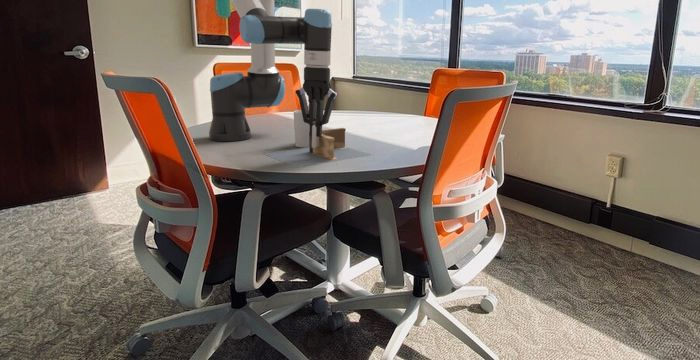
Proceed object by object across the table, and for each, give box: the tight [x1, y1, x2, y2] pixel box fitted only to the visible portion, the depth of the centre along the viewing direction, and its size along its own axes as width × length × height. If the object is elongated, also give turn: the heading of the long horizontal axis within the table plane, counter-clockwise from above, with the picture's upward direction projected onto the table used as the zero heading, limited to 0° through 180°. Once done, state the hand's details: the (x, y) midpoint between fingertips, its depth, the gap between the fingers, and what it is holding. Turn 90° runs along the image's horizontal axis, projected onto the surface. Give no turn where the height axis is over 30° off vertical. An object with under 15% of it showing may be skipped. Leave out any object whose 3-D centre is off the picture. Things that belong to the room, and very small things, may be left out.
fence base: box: [309, 127, 346, 153], centre depth 148 cm, size 2×13×6 cm, turn 126°
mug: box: [293, 109, 310, 148], centre depth 156 cm, size 10×7×12 cm, turn 13°
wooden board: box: [313, 134, 334, 159], centre depth 140 cm, size 11×2×6 cm, turn 32°
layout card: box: [262, 146, 373, 168], centre depth 143 cm, size 21×27×1 cm
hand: (315, 146), depth 139 cm, fingers closed
